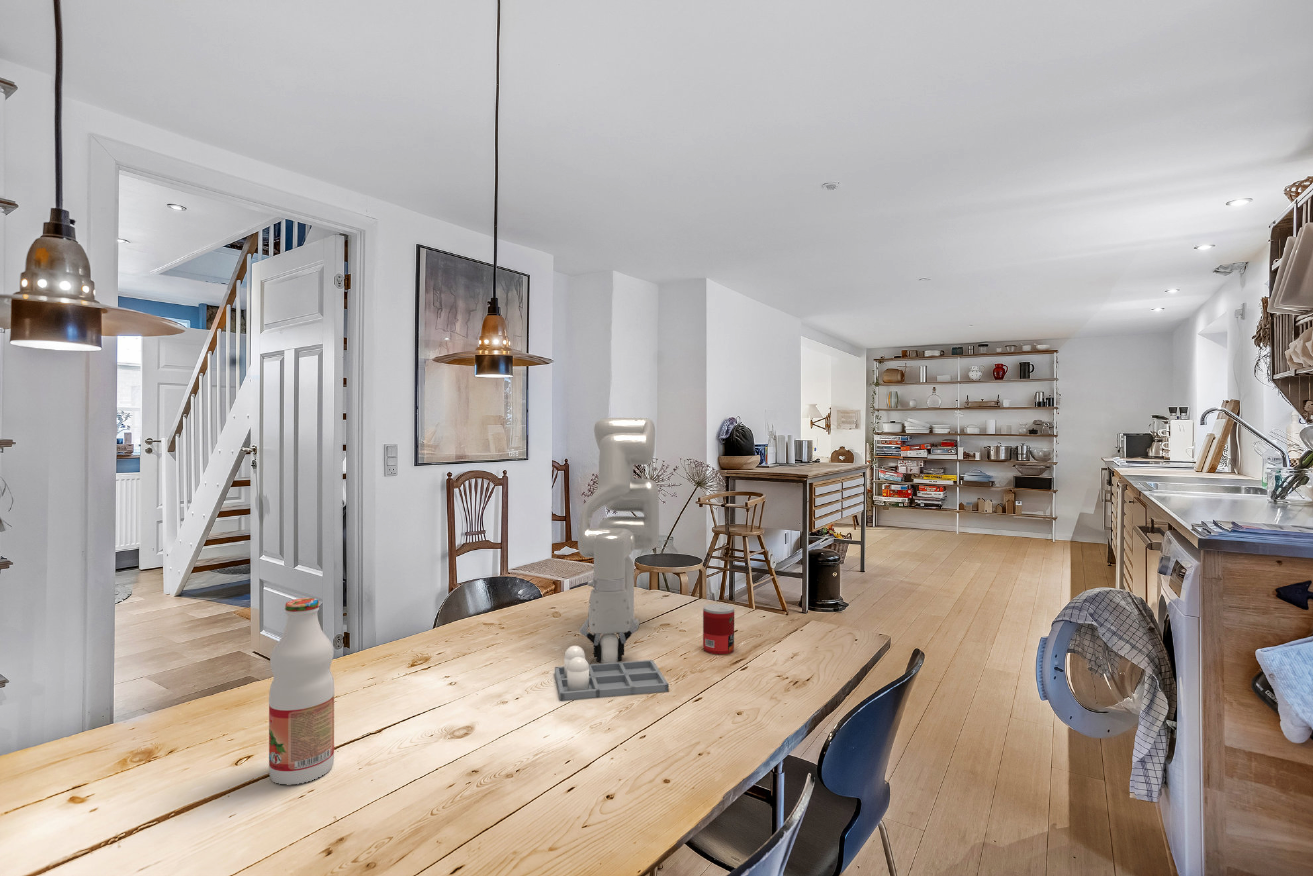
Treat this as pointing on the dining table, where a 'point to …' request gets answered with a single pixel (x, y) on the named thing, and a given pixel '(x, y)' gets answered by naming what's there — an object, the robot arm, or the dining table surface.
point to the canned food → (718, 628)
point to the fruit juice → (301, 698)
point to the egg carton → (615, 680)
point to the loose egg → (609, 648)
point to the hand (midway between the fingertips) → (608, 658)
